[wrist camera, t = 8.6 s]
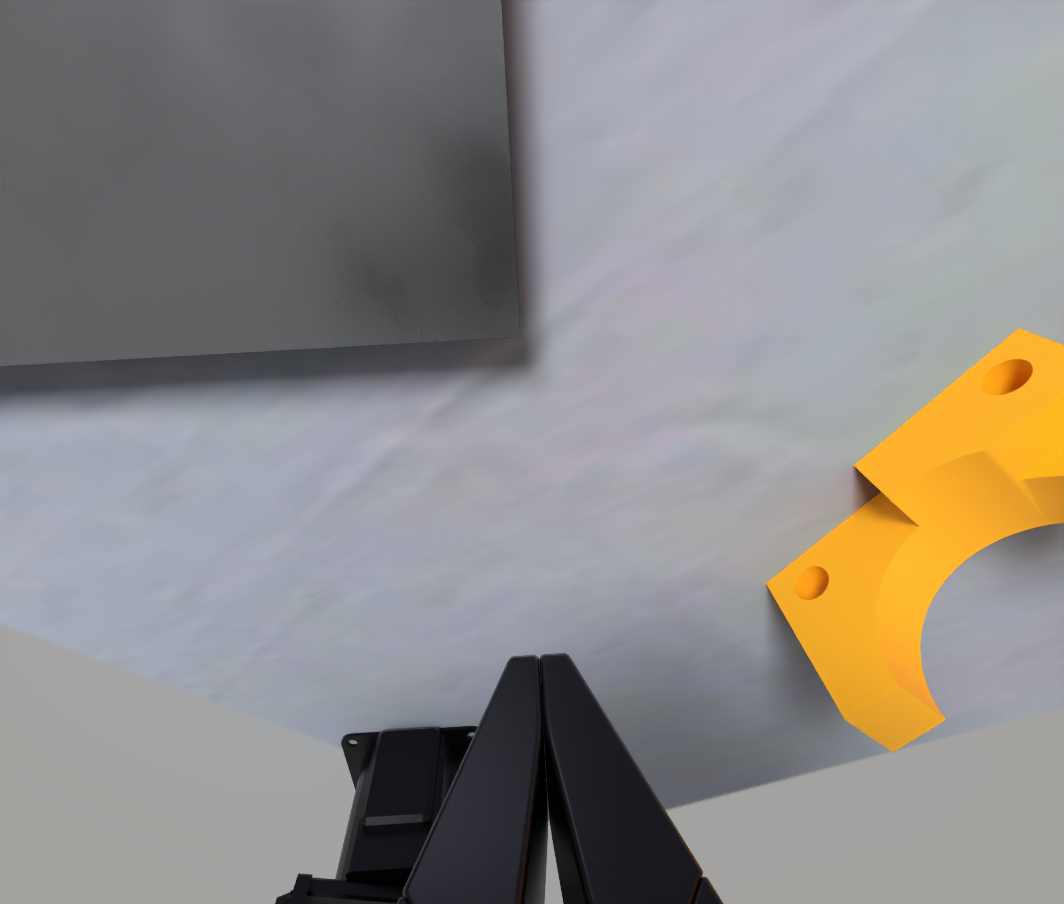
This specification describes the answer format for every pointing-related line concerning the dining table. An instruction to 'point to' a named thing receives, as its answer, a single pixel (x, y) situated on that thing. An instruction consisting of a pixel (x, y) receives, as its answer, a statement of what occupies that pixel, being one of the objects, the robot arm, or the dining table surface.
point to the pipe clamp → (928, 531)
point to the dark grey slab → (251, 177)
